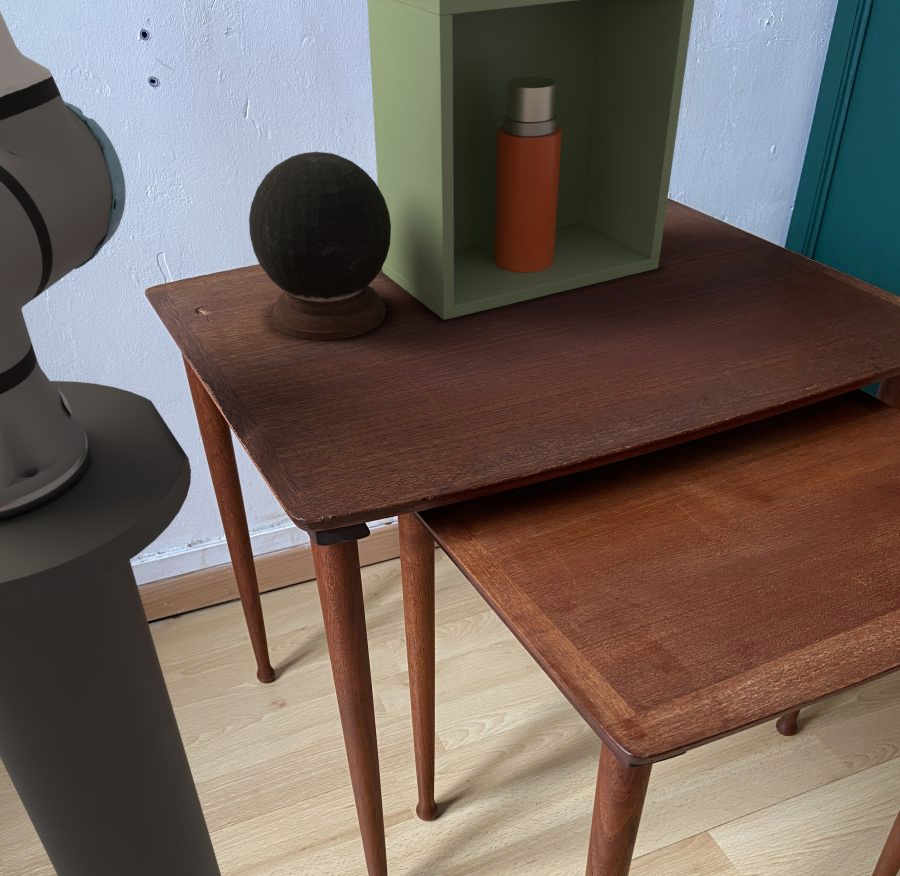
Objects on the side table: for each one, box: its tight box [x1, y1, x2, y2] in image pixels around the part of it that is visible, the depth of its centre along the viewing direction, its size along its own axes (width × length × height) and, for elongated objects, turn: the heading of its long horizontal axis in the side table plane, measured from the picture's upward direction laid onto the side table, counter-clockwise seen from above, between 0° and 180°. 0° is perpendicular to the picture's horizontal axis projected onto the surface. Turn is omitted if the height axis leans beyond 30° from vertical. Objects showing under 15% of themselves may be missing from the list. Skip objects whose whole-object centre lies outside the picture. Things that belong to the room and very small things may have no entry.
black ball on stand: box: [248, 151, 391, 341], centre depth 90 cm, size 13×13×15 cm
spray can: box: [494, 77, 562, 272], centre depth 96 cm, size 6×6×17 cm
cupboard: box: [366, 0, 695, 321], centre depth 94 cm, size 14×26×27 cm, turn 119°
